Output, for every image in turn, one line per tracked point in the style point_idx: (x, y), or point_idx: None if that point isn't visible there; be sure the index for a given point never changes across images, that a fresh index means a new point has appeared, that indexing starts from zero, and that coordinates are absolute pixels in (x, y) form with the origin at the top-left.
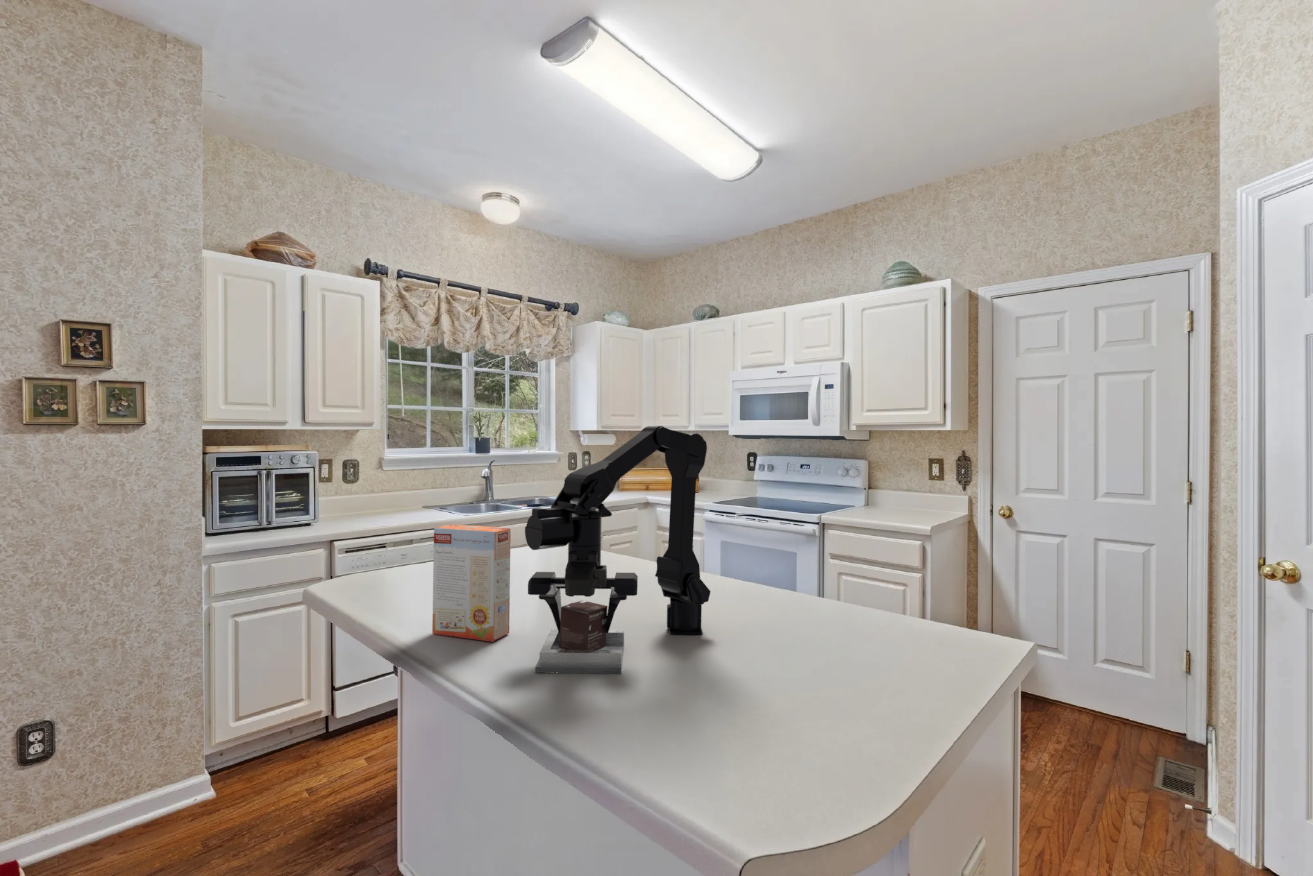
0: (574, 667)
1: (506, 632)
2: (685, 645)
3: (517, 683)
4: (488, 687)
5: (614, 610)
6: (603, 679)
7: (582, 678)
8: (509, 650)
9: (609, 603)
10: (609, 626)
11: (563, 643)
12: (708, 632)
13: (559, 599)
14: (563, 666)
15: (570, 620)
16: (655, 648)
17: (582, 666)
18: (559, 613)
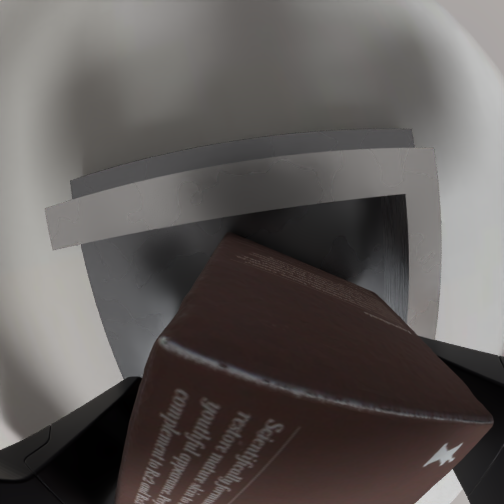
0: (256, 138)
1: None
2: (28, 414)
3: (413, 56)
4: (459, 45)
5: (21, 443)
6: (130, 115)
7: (210, 104)
8: (488, 314)
9: (4, 479)
10: (104, 392)
11: (363, 291)
12: None
13: (497, 481)
14: (308, 138)
15: (384, 346)
16: (69, 405)
17: (222, 154)
18: (472, 389)
